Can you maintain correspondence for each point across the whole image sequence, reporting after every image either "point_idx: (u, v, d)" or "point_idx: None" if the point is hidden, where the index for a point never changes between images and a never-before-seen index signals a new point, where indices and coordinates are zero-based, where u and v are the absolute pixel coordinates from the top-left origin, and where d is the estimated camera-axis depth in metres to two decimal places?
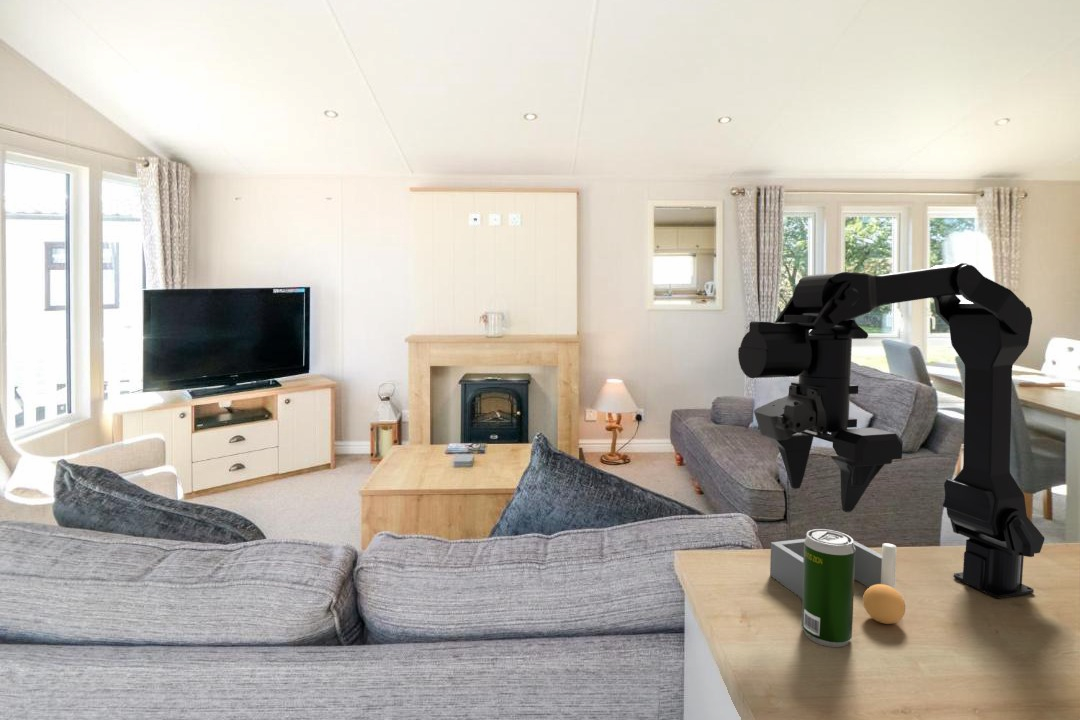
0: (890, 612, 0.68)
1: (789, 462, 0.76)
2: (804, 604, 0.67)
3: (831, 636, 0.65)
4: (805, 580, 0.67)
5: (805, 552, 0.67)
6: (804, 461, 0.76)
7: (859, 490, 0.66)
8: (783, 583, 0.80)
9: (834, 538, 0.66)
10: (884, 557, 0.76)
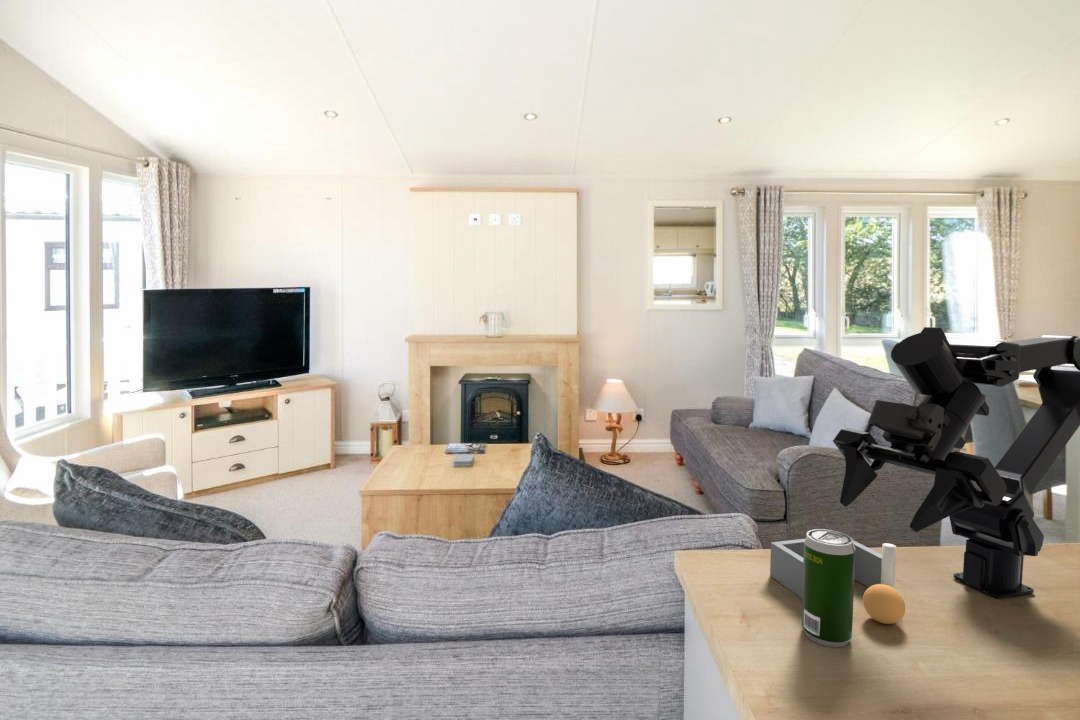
0: (890, 612, 0.68)
1: (852, 478, 0.74)
2: (804, 604, 0.67)
3: (831, 636, 0.65)
4: (805, 580, 0.67)
5: (805, 552, 0.67)
6: (861, 488, 0.74)
7: (936, 516, 0.65)
8: (783, 583, 0.80)
9: (834, 538, 0.66)
10: (884, 557, 0.76)
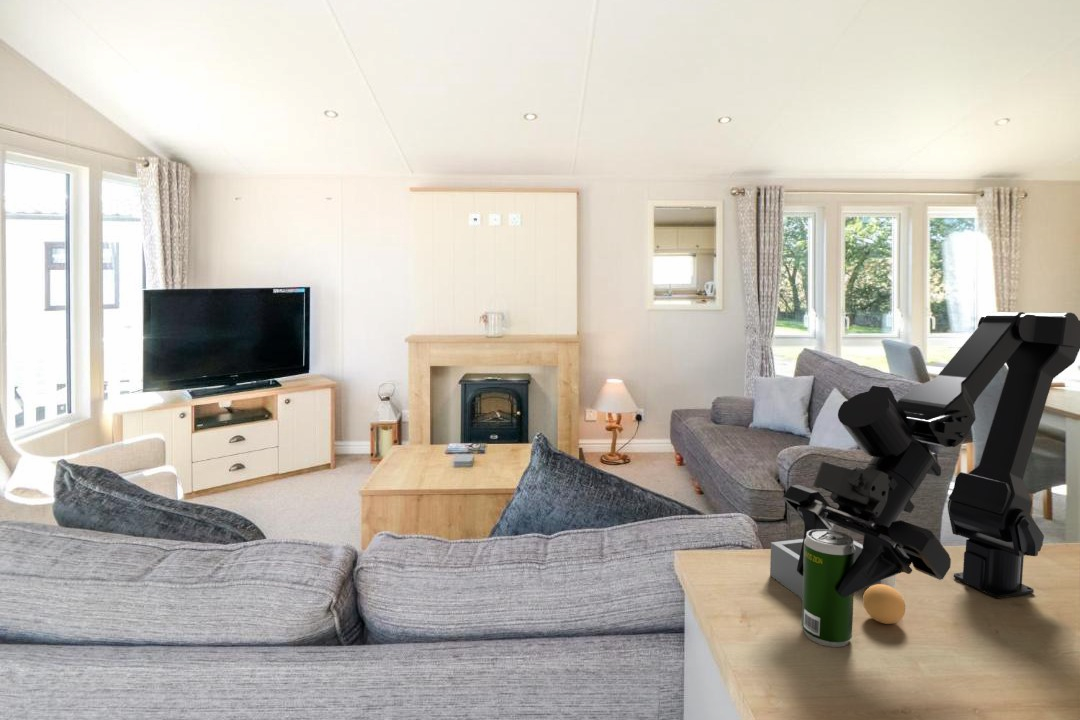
0: (890, 612, 0.68)
1: None
2: (804, 603, 0.67)
3: (831, 636, 0.65)
4: (805, 580, 0.67)
5: (805, 552, 0.67)
6: None
7: (864, 581, 0.63)
8: (783, 583, 0.80)
9: (834, 538, 0.66)
10: None
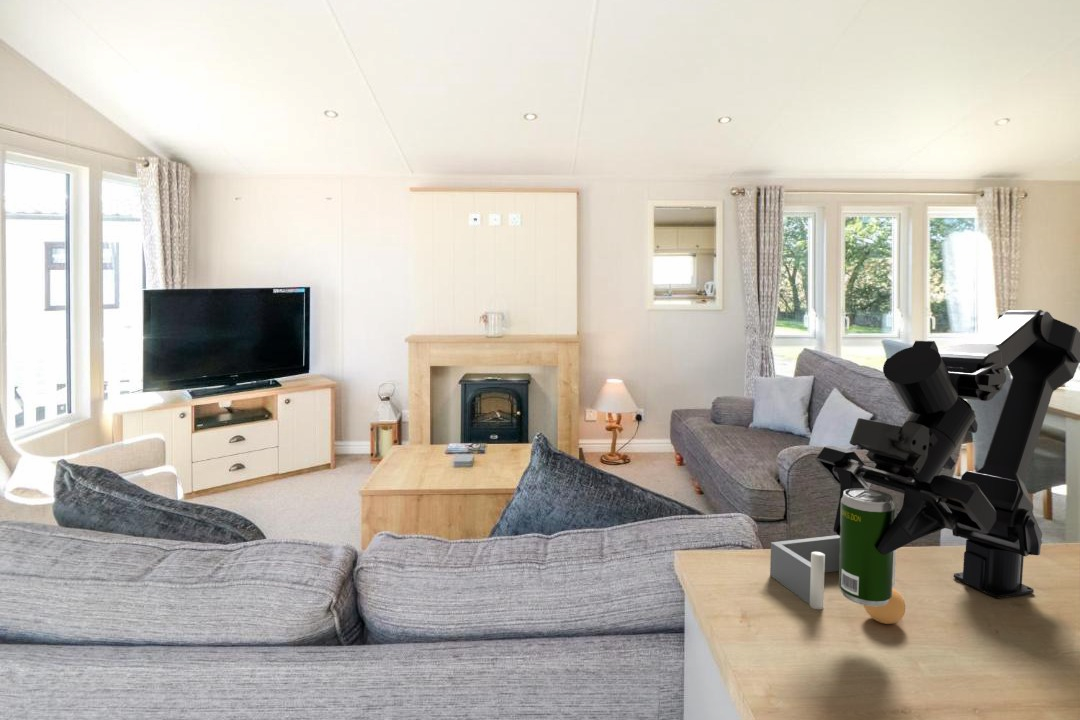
0: (890, 612, 0.68)
1: None
2: (842, 563, 0.66)
3: (870, 595, 0.63)
4: (842, 539, 0.65)
5: (842, 511, 0.65)
6: None
7: (905, 538, 0.62)
8: (783, 583, 0.80)
9: (872, 496, 0.65)
10: None
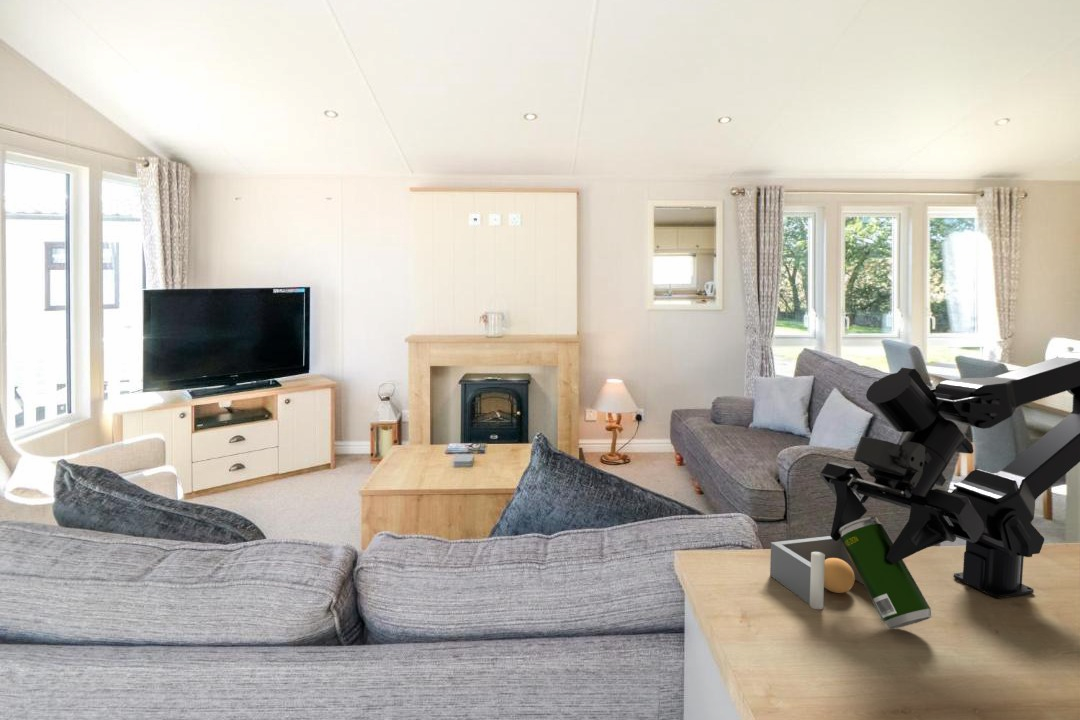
0: None
1: (843, 513, 0.76)
2: (870, 593, 0.69)
3: (906, 606, 0.65)
4: (858, 570, 0.71)
5: (844, 544, 0.73)
6: None
7: (911, 549, 0.68)
8: (783, 583, 0.80)
9: None
10: None
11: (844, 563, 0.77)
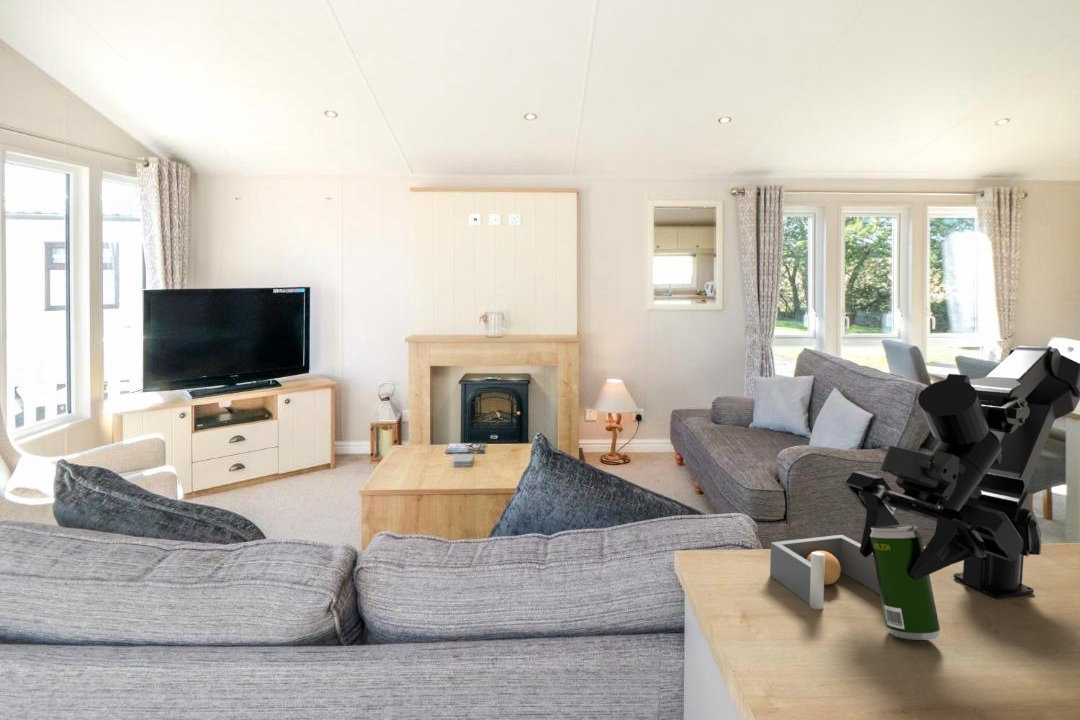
0: None
1: None
2: (883, 599, 0.67)
3: (916, 627, 0.64)
4: (878, 573, 0.68)
5: (872, 544, 0.69)
6: None
7: (937, 564, 0.64)
8: (783, 583, 0.80)
9: (898, 527, 0.68)
10: None
11: None
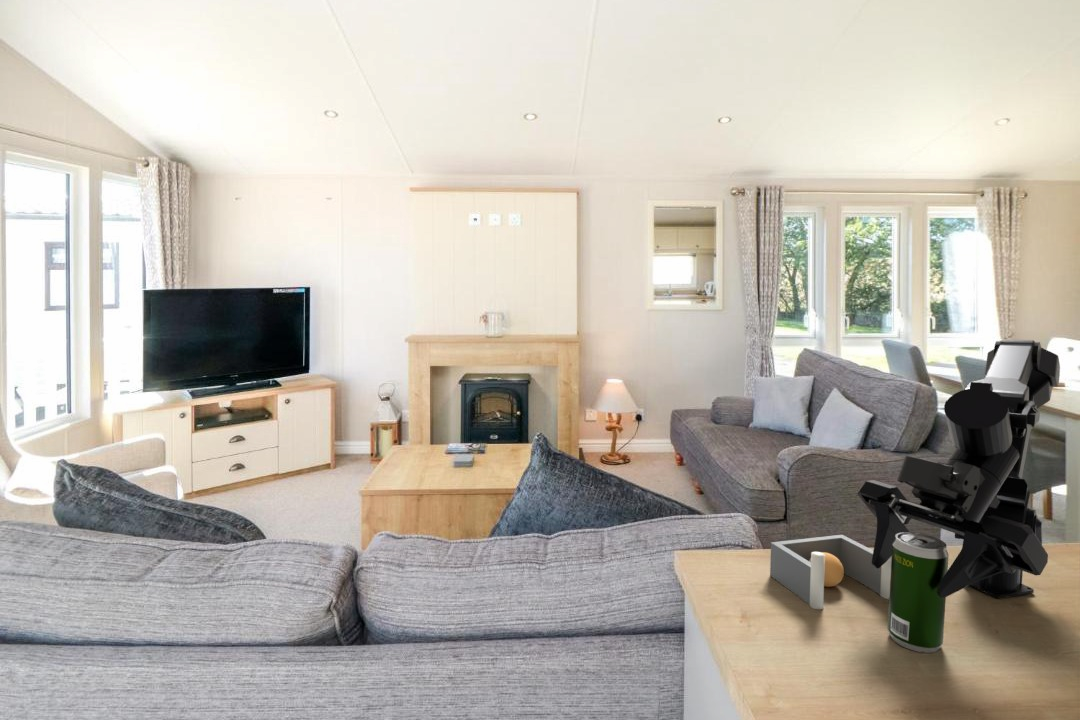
0: None
1: (885, 537, 0.69)
2: (892, 607, 0.66)
3: (921, 641, 0.63)
4: (893, 583, 0.66)
5: (894, 555, 0.66)
6: None
7: (964, 581, 0.61)
8: (783, 583, 0.80)
9: (925, 542, 0.65)
10: None
11: (824, 552, 0.80)
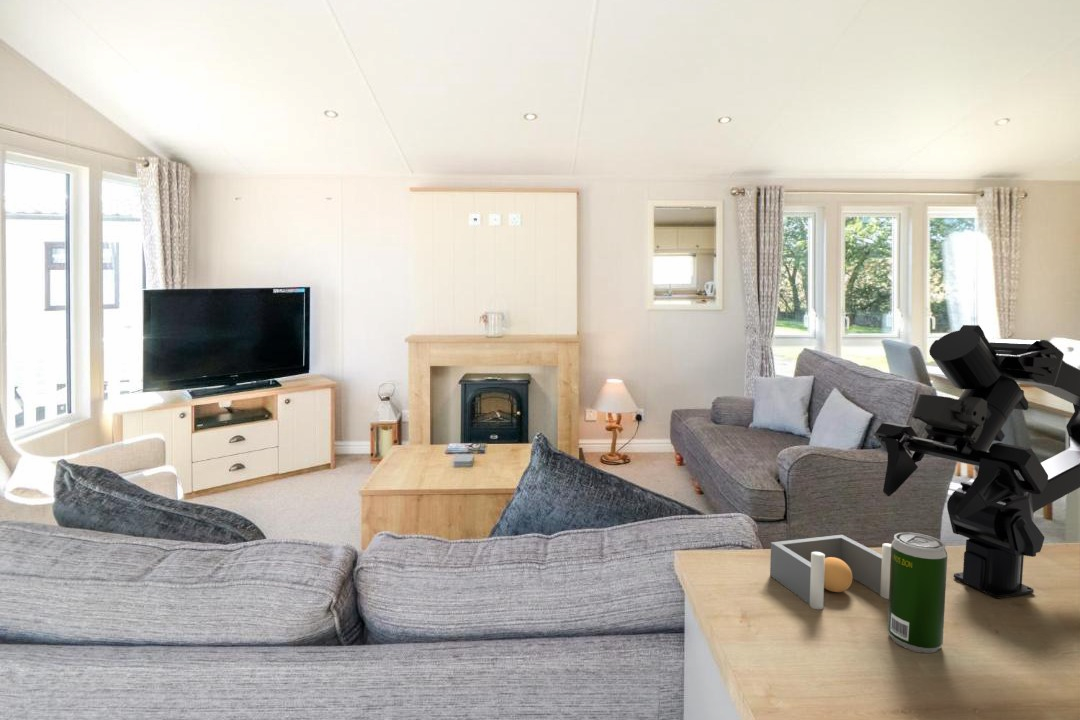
0: None
1: (895, 469, 0.77)
2: (891, 608, 0.66)
3: (921, 641, 0.63)
4: (892, 584, 0.66)
5: (893, 555, 0.66)
6: (903, 479, 0.78)
7: (980, 504, 0.68)
8: (783, 583, 0.80)
9: (924, 542, 0.65)
10: (884, 557, 0.76)
11: (840, 561, 0.77)
